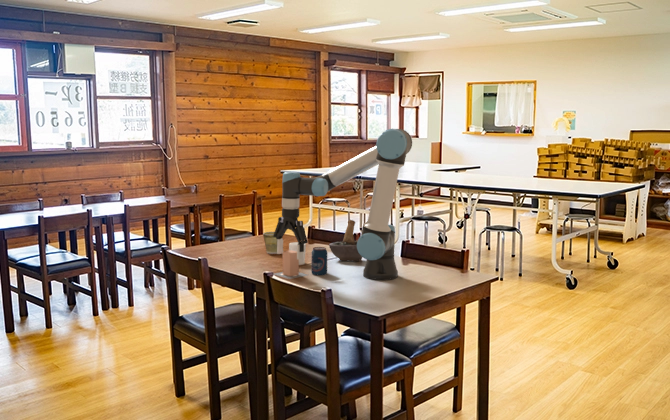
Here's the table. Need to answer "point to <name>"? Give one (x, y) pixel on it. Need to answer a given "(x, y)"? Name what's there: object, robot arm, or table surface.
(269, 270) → the table surface
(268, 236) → the ceramic cup
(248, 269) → the table surface
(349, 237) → the mortar and pestle
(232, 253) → the table surface
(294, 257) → the block
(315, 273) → the soda can
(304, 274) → the mat
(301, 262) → the white cup
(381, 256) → the robot arm
